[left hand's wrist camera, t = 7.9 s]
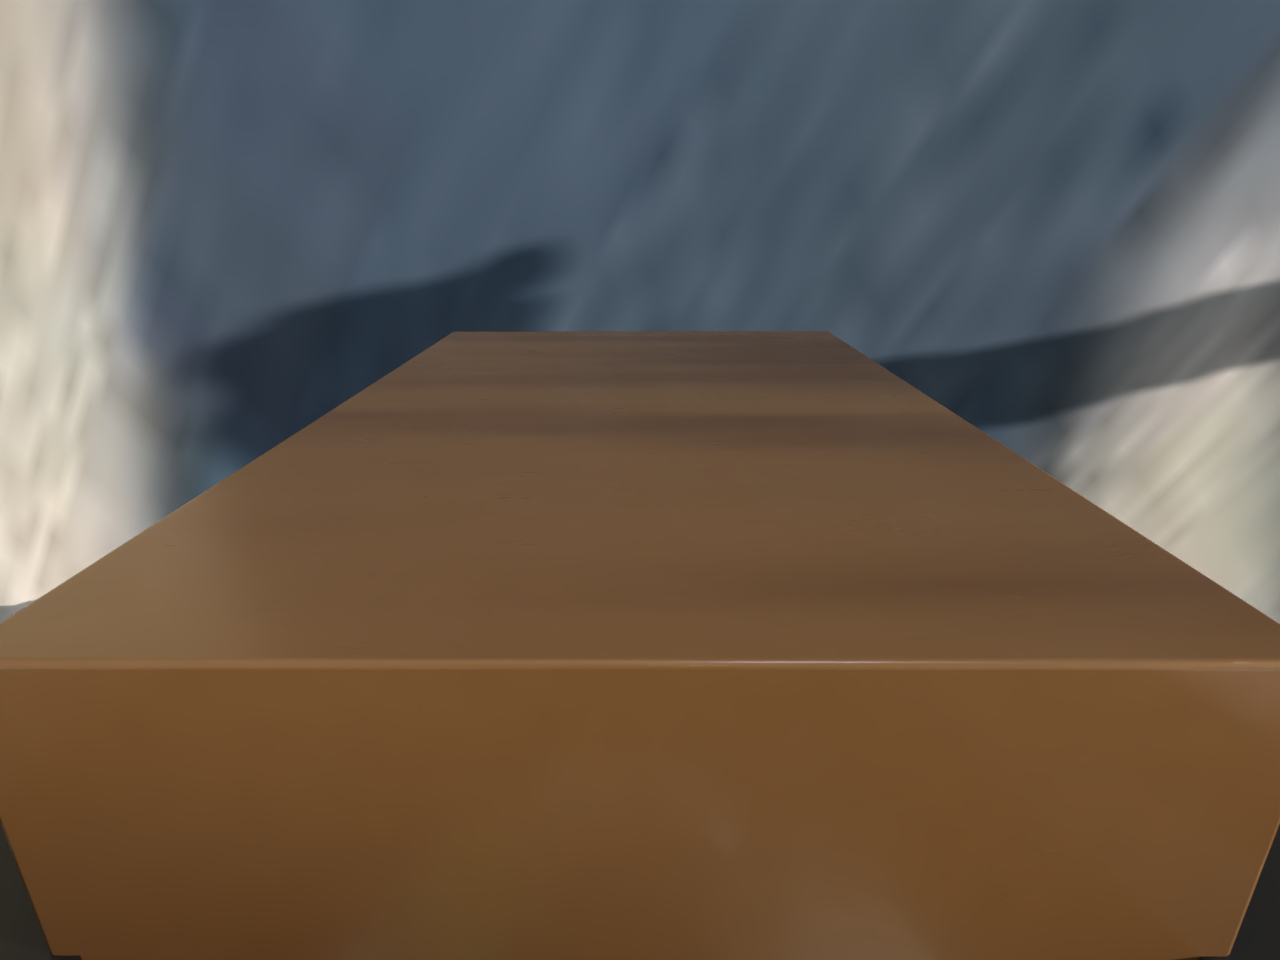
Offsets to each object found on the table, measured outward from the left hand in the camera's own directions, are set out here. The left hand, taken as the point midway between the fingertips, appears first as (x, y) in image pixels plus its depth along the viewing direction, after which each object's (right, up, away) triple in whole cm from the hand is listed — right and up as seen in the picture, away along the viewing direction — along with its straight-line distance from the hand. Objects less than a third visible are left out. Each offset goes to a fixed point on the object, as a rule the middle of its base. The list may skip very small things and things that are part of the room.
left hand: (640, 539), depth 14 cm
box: (0, -6, +5) cm, 8 cm away
